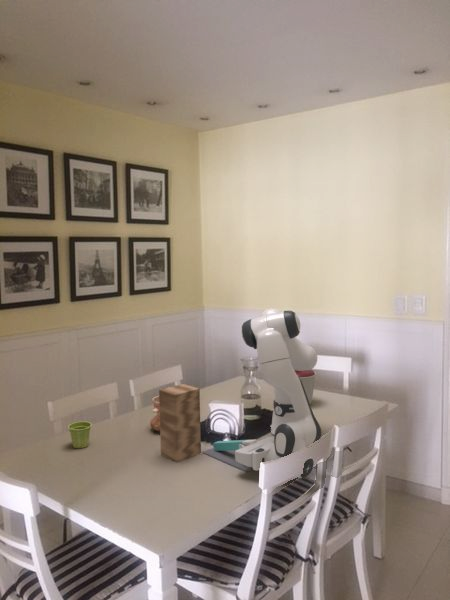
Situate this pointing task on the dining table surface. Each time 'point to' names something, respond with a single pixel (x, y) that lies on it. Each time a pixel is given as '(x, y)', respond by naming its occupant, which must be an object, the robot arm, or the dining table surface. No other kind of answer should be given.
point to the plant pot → (80, 434)
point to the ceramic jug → (156, 420)
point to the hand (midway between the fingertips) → (244, 444)
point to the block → (231, 444)
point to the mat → (227, 458)
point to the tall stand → (180, 422)
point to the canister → (307, 381)
